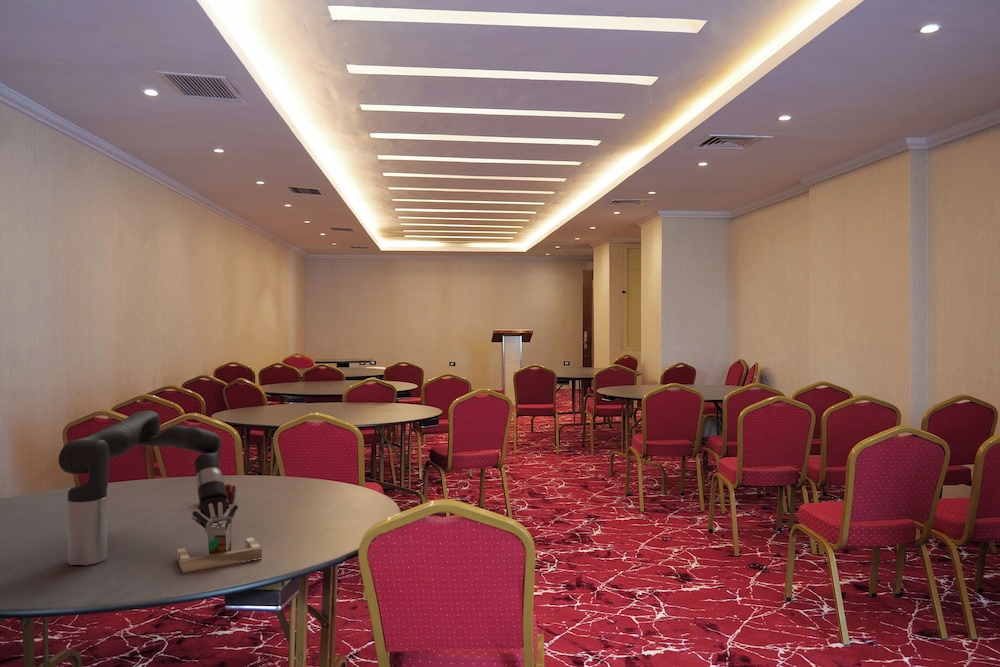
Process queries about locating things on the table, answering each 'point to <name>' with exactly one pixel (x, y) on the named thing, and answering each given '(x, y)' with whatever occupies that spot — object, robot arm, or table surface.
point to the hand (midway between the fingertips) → (219, 539)
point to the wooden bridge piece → (219, 557)
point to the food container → (219, 535)
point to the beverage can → (230, 492)
